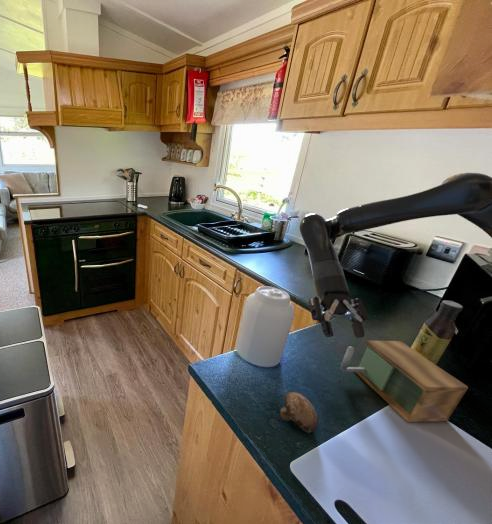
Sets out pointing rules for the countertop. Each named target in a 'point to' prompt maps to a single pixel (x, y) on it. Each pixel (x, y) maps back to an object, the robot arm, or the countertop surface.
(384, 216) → the robot arm
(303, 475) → the countertop surface
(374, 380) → the door
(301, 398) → the mushroom
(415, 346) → the sauce bottle
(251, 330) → the can
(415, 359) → the cupboard
